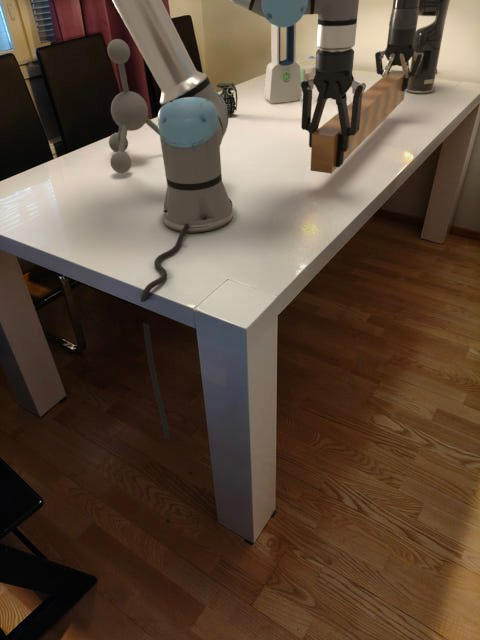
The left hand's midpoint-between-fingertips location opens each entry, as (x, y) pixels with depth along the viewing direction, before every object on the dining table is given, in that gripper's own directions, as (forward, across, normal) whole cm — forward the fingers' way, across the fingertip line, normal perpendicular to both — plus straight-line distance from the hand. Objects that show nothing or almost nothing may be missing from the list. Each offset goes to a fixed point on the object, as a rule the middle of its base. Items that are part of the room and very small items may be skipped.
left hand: (327, 163), depth 111 cm
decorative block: (+7, +49, -108) cm, 119 cm away
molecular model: (+7, +55, -2) cm, 55 cm away
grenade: (+7, +54, -48) cm, 72 cm away
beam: (+1, 0, -29) cm, 29 cm away
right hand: (-3, 0, -58) cm, 58 cm away
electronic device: (+7, +44, -72) cm, 85 cm away
